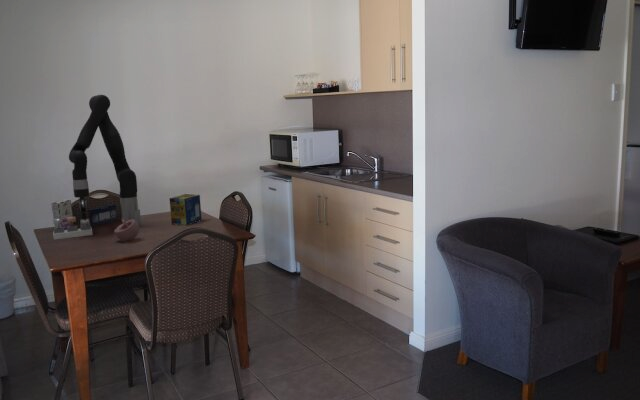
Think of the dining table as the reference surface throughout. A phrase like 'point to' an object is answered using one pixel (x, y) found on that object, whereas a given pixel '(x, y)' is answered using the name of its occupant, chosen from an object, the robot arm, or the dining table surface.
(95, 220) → the vhs cassette tape
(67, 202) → the candy bar box
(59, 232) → the grey knob panel
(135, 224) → the mortar and pestle
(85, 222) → the plunger
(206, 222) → the dining table surface
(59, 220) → the plunger
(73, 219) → the dial knob
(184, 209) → the protein box
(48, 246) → the dining table surface
